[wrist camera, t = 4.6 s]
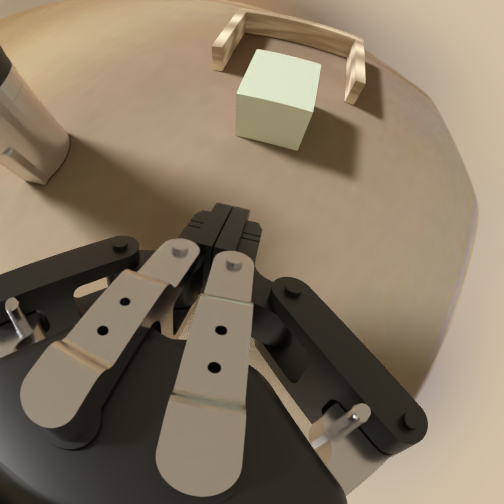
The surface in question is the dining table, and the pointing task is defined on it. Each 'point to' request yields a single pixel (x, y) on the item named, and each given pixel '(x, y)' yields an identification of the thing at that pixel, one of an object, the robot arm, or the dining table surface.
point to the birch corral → (297, 33)
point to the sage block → (276, 99)
